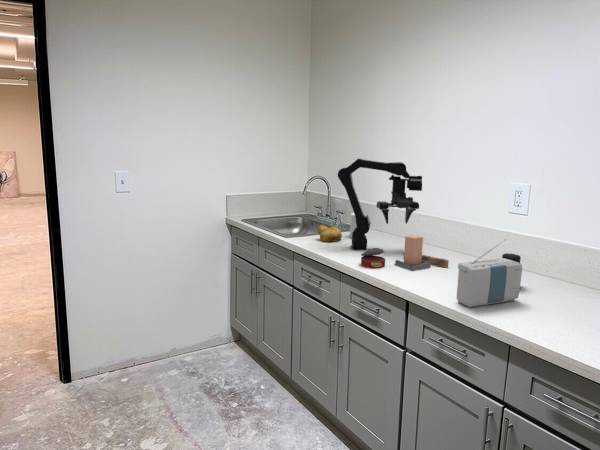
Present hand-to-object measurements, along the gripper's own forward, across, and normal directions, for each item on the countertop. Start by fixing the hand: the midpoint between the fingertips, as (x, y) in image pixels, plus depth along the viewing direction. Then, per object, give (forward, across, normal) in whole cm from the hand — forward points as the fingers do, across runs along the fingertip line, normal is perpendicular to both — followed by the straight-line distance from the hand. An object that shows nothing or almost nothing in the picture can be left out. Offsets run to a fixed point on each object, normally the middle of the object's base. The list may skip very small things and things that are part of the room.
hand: (396, 223), depth 219 cm
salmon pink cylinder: (+13, -2, -26) cm, 29 cm away
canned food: (+13, -18, -23) cm, 32 cm away
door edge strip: (+13, +5, -22) cm, 26 cm away
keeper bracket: (+13, -2, -26) cm, 29 cm away
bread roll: (+13, -25, +24) cm, 37 cm away
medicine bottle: (+13, +23, -55) cm, 61 cm away
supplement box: (+13, -10, +30) cm, 34 cm away
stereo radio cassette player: (+13, +6, -69) cm, 71 cm away
